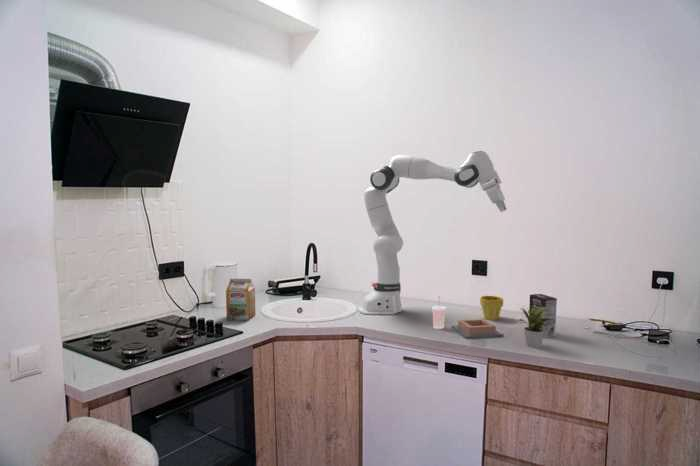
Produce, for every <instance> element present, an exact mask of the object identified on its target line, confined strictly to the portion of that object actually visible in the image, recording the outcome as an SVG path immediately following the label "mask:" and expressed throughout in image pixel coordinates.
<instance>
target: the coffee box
mask: <svg viewBox="0 0 700 466" xmlns="http://www.w3.org/2000/svg"><path fill="white" fill-rule="evenodd" d="M557 301H558V298H556V297H553V296H550V295H546V294H542V293H538V294H537V293H533V294H529V308H528V310H529V311H530V312H531V313H532V308H533V309H534V306H535V304H536V306H535V315H536V313H537V312H538V310H540V309H541V308H542V307H543V308H544V307H546V308H545V309H544V311H543V313H542V314H541V316H540V318H548V319H552V320H547V321H545V322H543V323H544V324H546V323H549V324H551V326H550V325H549V324H546V325H547V326H544V325H542V326H541V327H540V328H541V329H543V330H544V333H543V337H542V338H549V337H551V338H552V337H555V336H556V322H557V321H556V320H557V303H558V302H557ZM531 307H532V308H531ZM549 311H551V312H549ZM547 312H548V313H547ZM538 313H539V312H538ZM538 313H537V314H538ZM545 313H546V314H545ZM544 314H545V315H544ZM528 315H529V316H530V314H529V313H528ZM542 315H544V316H542ZM536 316H537V315H536ZM535 318H536V317H535ZM540 318H539V319H540ZM541 320H542V319H541ZM539 321H540V320H538V322H539ZM543 323H542V324H543ZM528 325H529V324H528ZM528 327H530V325H529V326H528Z"/></svg>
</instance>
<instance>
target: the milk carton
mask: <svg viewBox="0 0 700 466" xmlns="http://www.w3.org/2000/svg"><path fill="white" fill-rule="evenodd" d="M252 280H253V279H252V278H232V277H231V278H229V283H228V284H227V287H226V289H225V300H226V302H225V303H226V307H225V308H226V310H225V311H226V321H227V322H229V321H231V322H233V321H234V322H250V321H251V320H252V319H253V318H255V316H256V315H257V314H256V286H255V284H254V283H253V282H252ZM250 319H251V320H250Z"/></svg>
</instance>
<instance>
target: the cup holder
mask: <svg viewBox="0 0 700 466" xmlns="http://www.w3.org/2000/svg"><path fill="white" fill-rule="evenodd" d="M450 328H451V329H452V330H453V331H455V332H456V333H458V334H459V335H460V336H462V337H463V338H464V339H466V340H469V339H470V340H473V339H488V338H489V339H490V338H491V339H493V338H502V337H503V338H504V334H503V333H501V332H500V331H498V330H497V329H496V328H497V326H496V325H494V324H493V323H491V322H490V321H487V319H485V318H476V319H475V318H473V319H470V318H469V319H458V320H457V325H456V324H455V325H450Z"/></svg>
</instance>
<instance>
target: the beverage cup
mask: <svg viewBox="0 0 700 466" xmlns="http://www.w3.org/2000/svg"><path fill="white" fill-rule="evenodd" d="M440 300H441V299H440V295H438V302H437V303H438V305H433V306H432V307H431V309H432V324H433V325H432V327H433V328H434V329H436V330H437V329H438V330H439V329H444V328H445V319H446V310H447V307H446V306H443V305H440V302H441V301H440Z"/></svg>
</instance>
